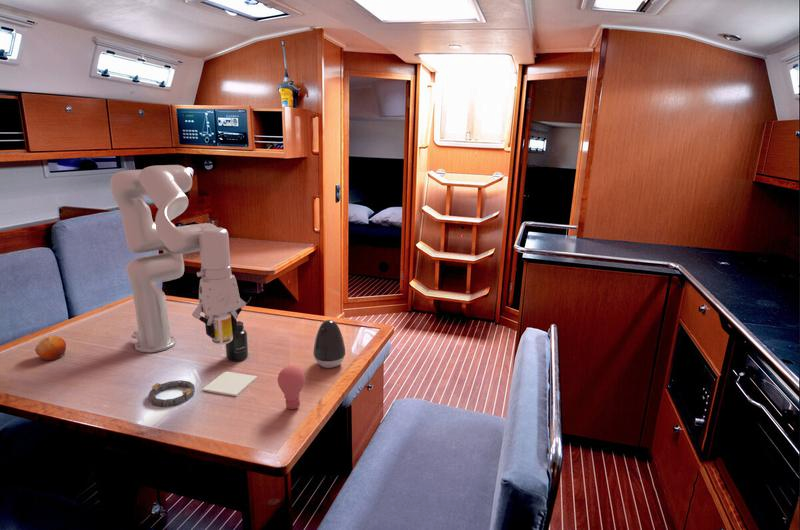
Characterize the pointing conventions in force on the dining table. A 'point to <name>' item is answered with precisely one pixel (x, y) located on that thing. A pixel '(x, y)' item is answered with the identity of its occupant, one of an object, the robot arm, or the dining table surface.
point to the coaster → (230, 383)
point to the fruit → (51, 348)
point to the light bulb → (291, 385)
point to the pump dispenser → (329, 345)
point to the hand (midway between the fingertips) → (222, 333)
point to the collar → (172, 384)
